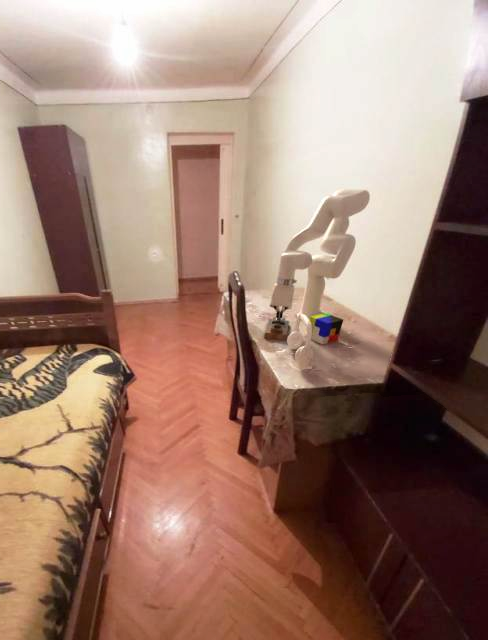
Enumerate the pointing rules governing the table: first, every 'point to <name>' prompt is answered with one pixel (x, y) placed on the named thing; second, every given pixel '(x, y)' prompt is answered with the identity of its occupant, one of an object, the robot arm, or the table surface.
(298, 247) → the robot arm
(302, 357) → the headset
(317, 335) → the puzzle toy
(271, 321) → the block black
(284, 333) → the block walnut
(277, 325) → the key ebony
